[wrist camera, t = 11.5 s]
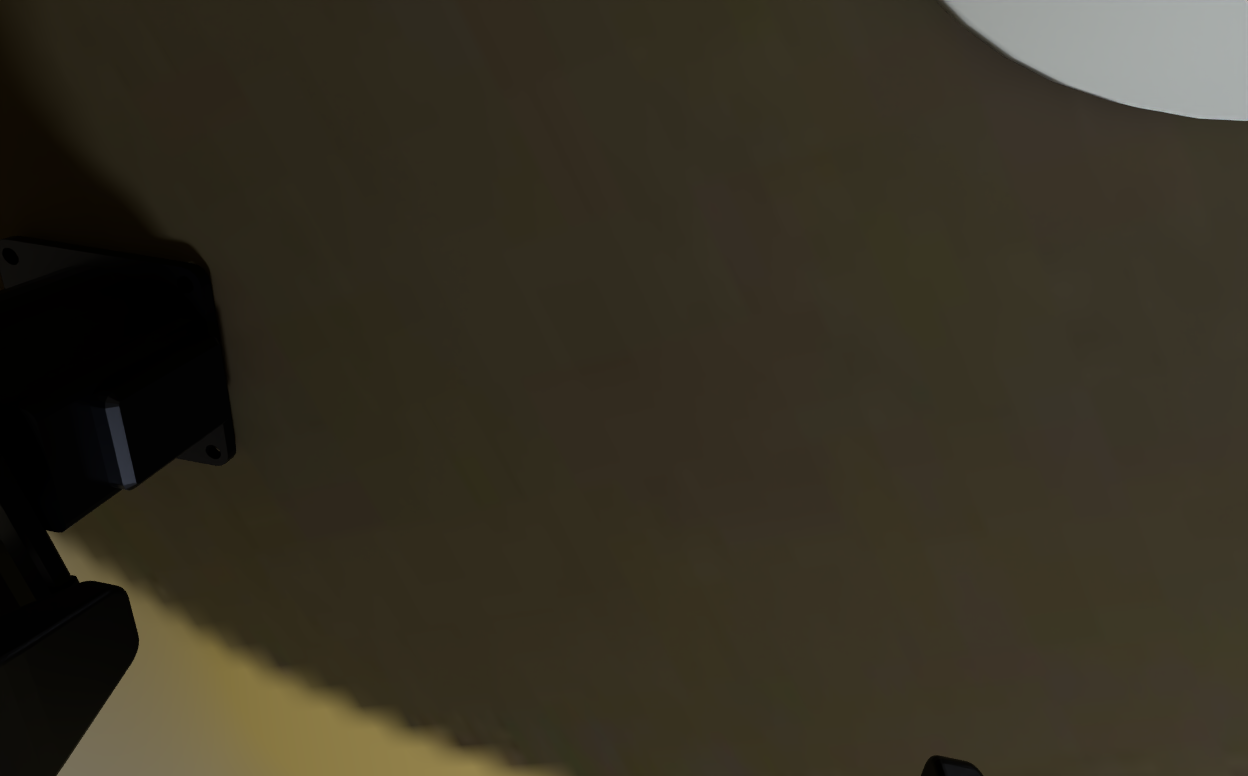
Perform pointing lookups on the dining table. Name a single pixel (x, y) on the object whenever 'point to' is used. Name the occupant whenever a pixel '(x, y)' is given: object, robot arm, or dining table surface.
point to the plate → (1125, 48)
